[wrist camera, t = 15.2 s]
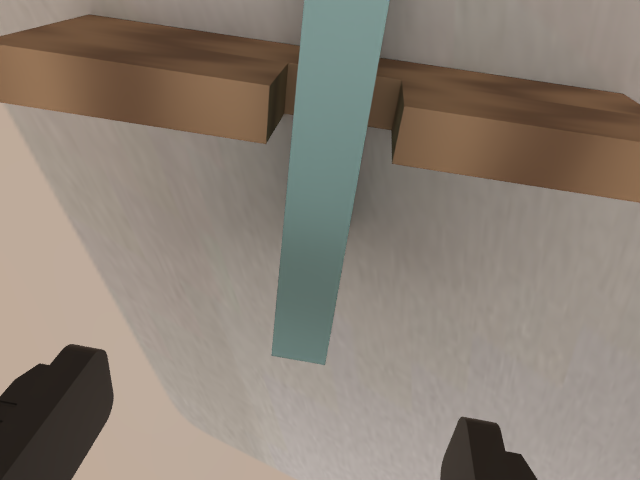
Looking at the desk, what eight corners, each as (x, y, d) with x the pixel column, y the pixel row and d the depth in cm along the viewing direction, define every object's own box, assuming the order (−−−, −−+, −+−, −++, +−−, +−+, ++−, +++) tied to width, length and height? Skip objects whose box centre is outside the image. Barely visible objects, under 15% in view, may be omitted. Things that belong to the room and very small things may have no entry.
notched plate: (398, -79, 19) (406, -95, 10) (345, 228, 26) (324, 365, 18) (346, -86, 19) (314, -107, 10) (308, 222, 26) (271, 355, 18)
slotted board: (623, 93, 21) (715, 153, 15) (603, 137, 22) (682, 209, 16) (89, 14, 22) (-21, 41, 16) (94, 60, 23) (-7, 101, 17)
